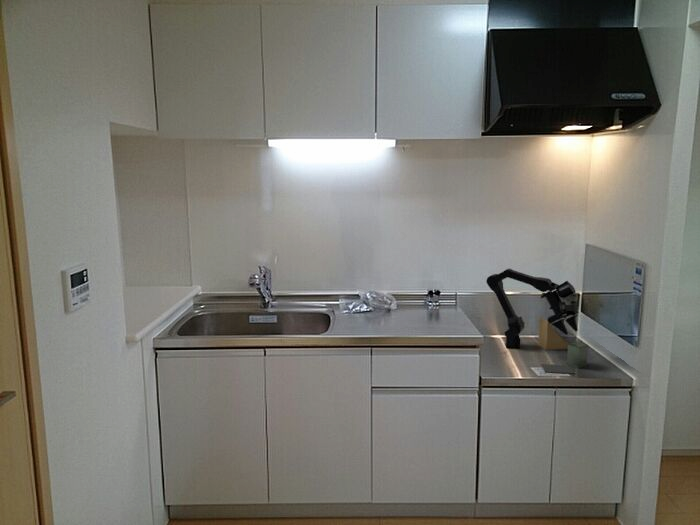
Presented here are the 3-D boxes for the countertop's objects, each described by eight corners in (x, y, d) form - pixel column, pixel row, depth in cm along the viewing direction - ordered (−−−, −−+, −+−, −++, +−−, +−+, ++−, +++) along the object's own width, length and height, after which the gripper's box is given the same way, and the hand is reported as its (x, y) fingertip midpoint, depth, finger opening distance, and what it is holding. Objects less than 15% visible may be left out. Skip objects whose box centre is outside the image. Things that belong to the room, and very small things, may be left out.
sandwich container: (574, 348, 249) (576, 320, 246) (546, 350, 247) (547, 321, 244) (565, 343, 257) (567, 315, 254) (537, 344, 255) (539, 316, 253)
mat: (545, 372, 219) (545, 371, 219) (541, 364, 228) (541, 363, 228) (573, 374, 217) (573, 373, 217) (568, 366, 225) (568, 365, 225)
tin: (566, 364, 228) (568, 343, 227) (575, 361, 231) (576, 341, 229) (577, 368, 223) (579, 347, 221) (586, 366, 226) (588, 345, 224)
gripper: (559, 298, 224) (576, 329, 219) (579, 293, 236) (596, 322, 231) (540, 308, 232) (556, 338, 227) (560, 302, 244) (576, 331, 239)
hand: (571, 332), depth 231 cm, fingers open, 9 cm apart
